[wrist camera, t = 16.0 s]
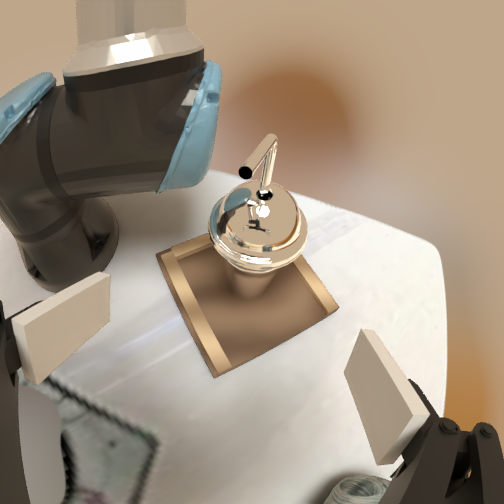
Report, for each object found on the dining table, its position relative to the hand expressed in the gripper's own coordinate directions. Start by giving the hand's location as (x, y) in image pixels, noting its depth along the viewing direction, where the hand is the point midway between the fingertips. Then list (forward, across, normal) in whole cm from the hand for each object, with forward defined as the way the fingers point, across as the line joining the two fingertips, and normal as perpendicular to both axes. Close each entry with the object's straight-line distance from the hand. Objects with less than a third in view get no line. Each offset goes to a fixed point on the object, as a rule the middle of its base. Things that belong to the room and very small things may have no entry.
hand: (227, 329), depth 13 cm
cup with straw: (+18, 0, -4) cm, 19 cm away
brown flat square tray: (+19, 0, -4) cm, 20 cm away
